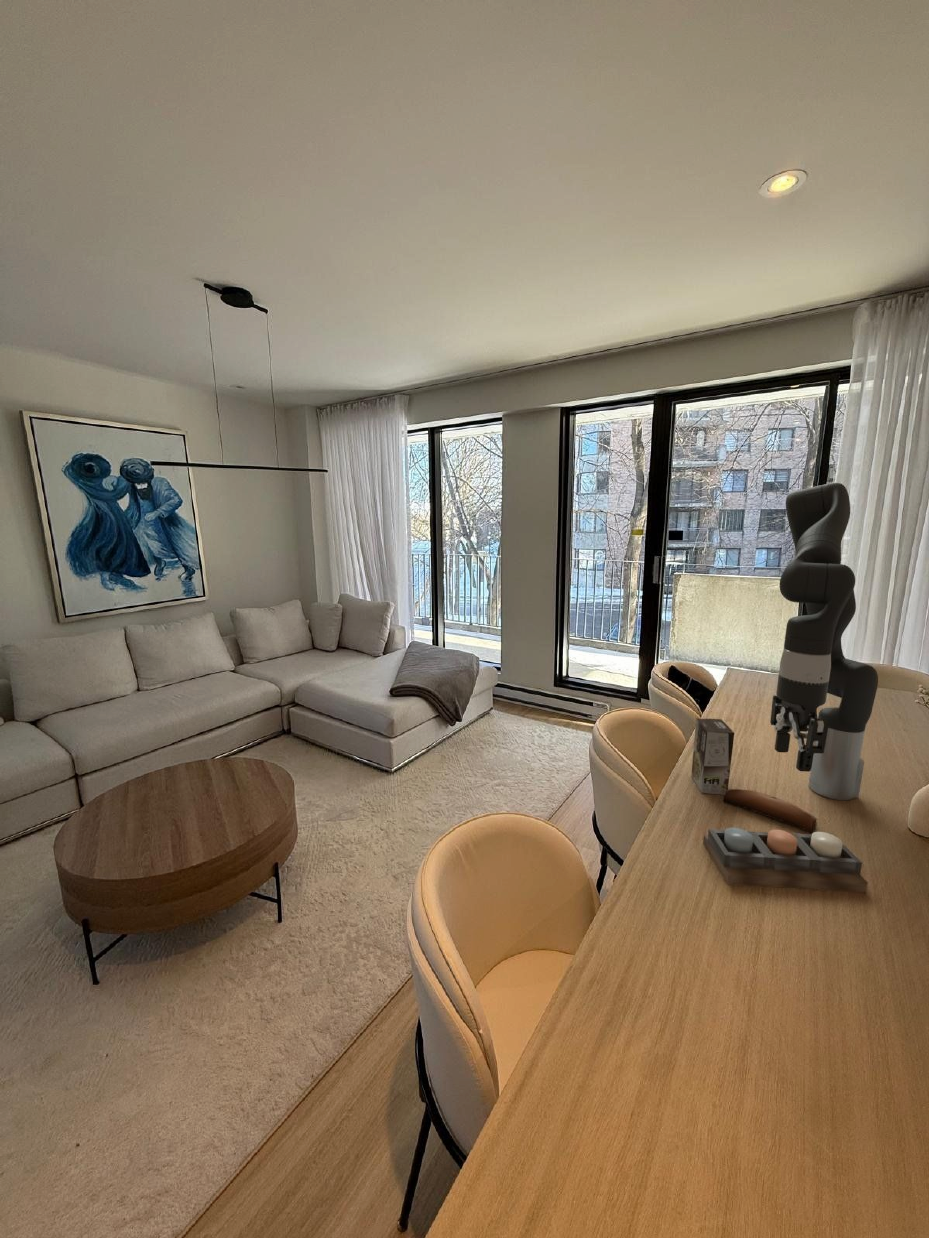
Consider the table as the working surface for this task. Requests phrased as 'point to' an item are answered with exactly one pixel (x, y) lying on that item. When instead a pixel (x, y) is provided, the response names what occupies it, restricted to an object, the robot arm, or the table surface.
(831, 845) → the cream button
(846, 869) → the gray compartment tray
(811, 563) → the robot arm
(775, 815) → the sunglasses case
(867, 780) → the table surface
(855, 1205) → the table surface
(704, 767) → the coffee box
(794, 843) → the tan rounded oval piece
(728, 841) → the slate button
